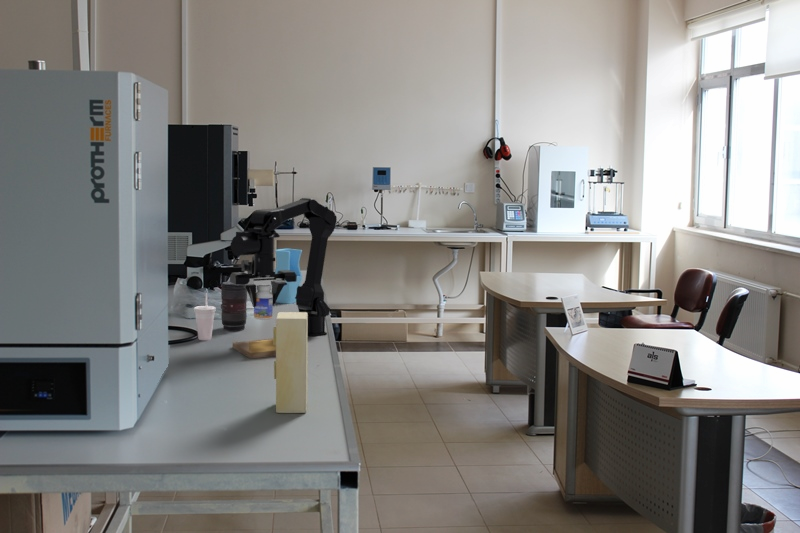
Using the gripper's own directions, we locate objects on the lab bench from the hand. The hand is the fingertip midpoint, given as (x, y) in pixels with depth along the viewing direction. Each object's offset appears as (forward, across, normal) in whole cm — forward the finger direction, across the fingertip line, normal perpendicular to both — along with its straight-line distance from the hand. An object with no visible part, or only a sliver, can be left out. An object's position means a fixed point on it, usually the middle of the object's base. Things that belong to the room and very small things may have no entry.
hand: (263, 306), depth 233 cm
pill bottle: (+4, 0, 0) cm, 4 cm away
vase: (+12, -35, -65) cm, 75 cm away
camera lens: (+12, 0, -25) cm, 28 cm away
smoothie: (+12, +13, -15) cm, 23 cm away
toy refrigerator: (+12, +16, +58) cm, 62 cm away
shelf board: (+12, +1, +6) cm, 13 cm away
